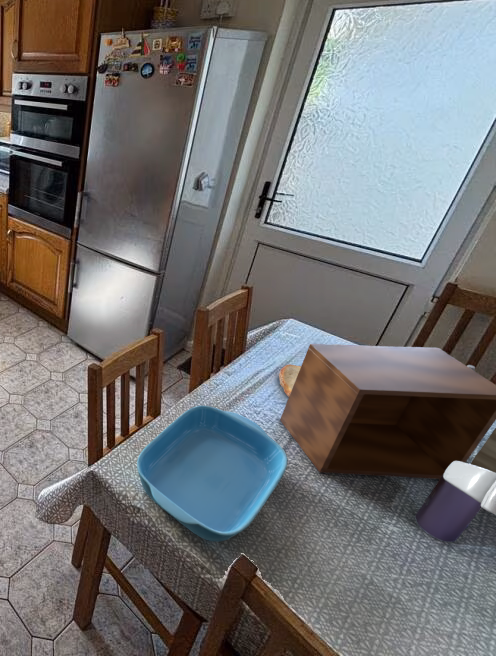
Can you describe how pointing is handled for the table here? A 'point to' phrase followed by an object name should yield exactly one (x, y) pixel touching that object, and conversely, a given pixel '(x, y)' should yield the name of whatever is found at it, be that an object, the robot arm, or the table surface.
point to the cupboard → (387, 410)
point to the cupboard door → (487, 454)
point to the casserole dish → (212, 471)
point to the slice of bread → (288, 377)
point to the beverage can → (446, 512)
